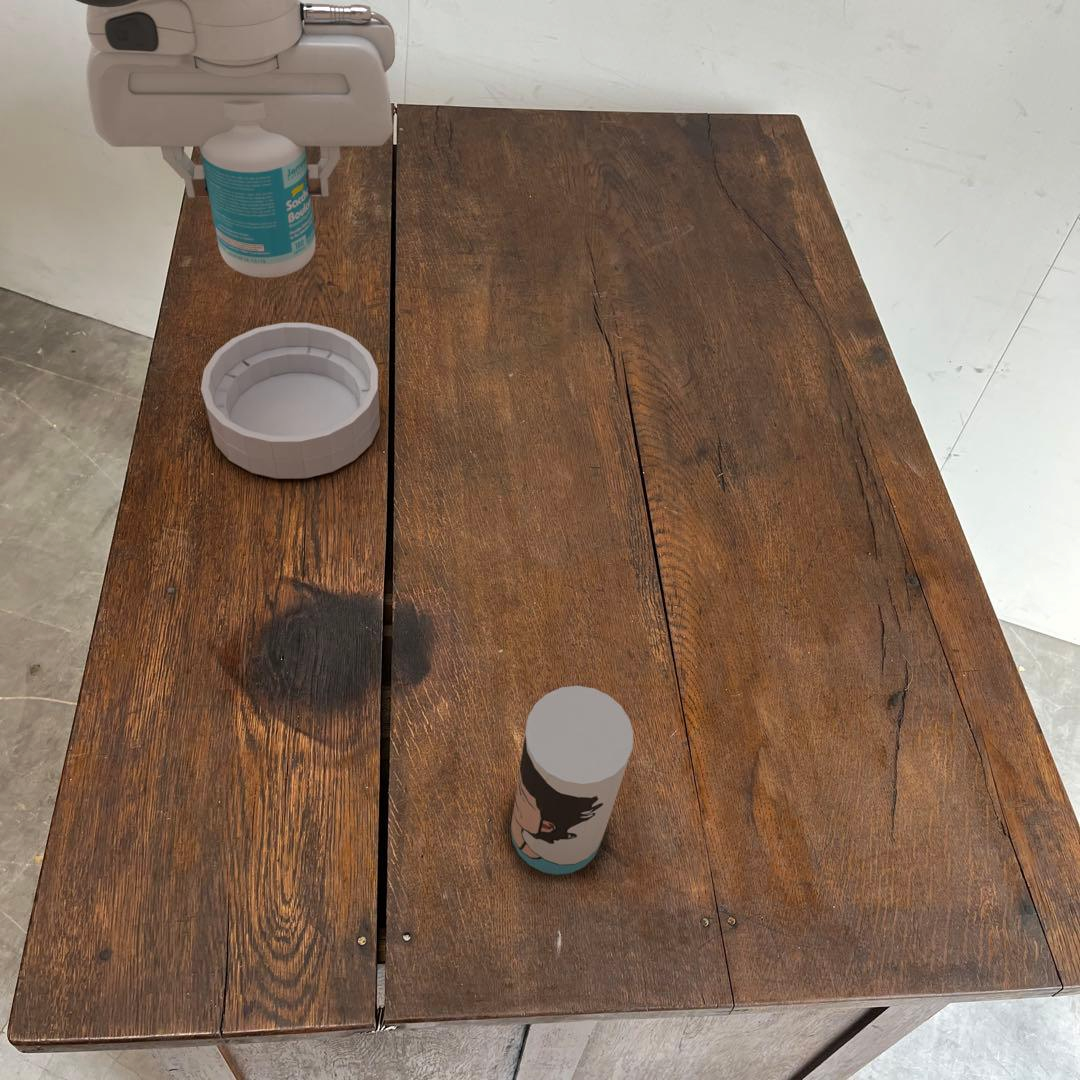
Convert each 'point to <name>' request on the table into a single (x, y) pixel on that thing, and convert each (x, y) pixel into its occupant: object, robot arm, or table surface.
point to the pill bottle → (258, 195)
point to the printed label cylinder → (569, 777)
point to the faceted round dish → (292, 400)
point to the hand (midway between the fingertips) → (259, 192)
